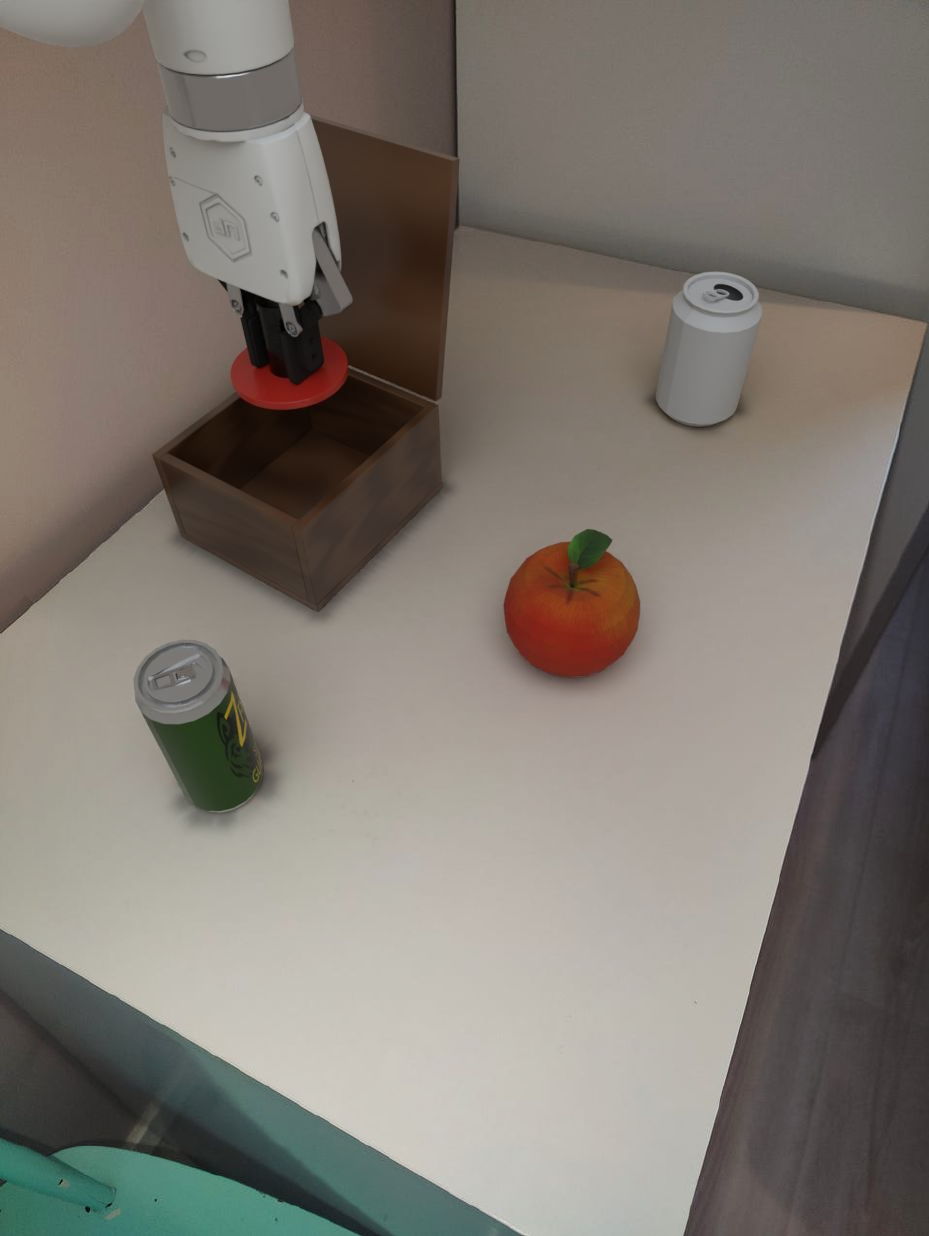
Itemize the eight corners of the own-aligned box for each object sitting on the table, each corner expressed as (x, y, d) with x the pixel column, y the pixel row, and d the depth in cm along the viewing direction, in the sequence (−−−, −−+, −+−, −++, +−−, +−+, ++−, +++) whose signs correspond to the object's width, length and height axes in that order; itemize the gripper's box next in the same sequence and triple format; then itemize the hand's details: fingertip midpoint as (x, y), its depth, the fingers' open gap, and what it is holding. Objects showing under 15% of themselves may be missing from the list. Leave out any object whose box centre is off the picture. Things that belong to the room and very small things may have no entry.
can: (752, 412, 83) (787, 294, 74) (693, 443, 81) (720, 324, 71) (696, 372, 87) (721, 255, 78) (637, 400, 85) (656, 283, 75)
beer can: (194, 829, 57) (140, 728, 48) (175, 762, 61) (120, 655, 51) (275, 797, 59) (238, 693, 50) (252, 733, 62) (213, 624, 53)
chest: (317, 612, 69) (300, 530, 62) (181, 537, 74) (151, 454, 67) (442, 488, 77) (439, 404, 71) (312, 428, 83) (297, 345, 76)
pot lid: (219, 408, 63) (197, 331, 58) (246, 338, 68) (228, 262, 63) (338, 411, 62) (326, 334, 58) (356, 341, 68) (346, 265, 63)
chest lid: (453, 160, 58) (460, 158, 59) (282, 110, 64) (290, 108, 64) (435, 401, 70) (441, 398, 71) (293, 342, 75) (299, 339, 76)
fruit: (474, 652, 66) (473, 559, 58) (553, 578, 71) (562, 483, 63) (579, 724, 62) (594, 635, 54) (656, 641, 67) (679, 547, 59)
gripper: (82, 78, 51) (169, 355, 66) (299, 146, 45) (344, 434, 60) (177, 37, 55) (240, 306, 70) (389, 93, 49) (411, 376, 64)
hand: (288, 363), depth 64 cm, fingers closed on pot lid, 2 cm apart
